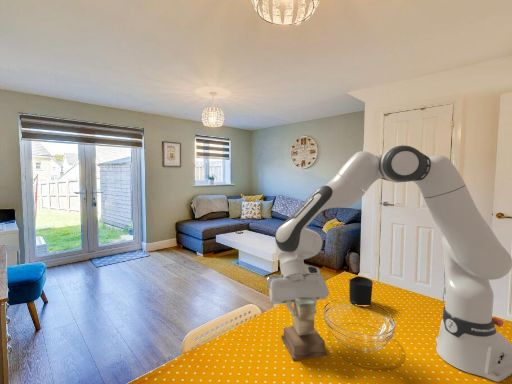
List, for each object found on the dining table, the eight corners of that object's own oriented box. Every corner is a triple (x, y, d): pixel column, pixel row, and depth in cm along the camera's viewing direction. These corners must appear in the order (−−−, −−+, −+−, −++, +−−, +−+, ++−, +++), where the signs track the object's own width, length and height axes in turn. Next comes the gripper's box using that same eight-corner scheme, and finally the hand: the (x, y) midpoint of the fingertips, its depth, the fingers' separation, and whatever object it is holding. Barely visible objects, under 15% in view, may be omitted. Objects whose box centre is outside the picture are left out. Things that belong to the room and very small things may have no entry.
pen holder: (346, 297, 120) (347, 275, 120) (367, 298, 120) (368, 276, 119) (351, 307, 111) (352, 284, 110) (374, 308, 110) (375, 285, 110)
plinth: (311, 333, 93) (311, 322, 92) (327, 355, 82) (327, 342, 81) (281, 337, 90) (281, 326, 90) (293, 360, 79) (293, 347, 79)
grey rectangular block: (307, 324, 89) (308, 295, 88) (314, 333, 84) (315, 302, 83) (292, 326, 88) (293, 296, 87) (298, 335, 83) (299, 304, 82)
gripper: (267, 272, 89) (275, 315, 80) (323, 267, 93) (336, 308, 85) (264, 279, 93) (271, 321, 85) (317, 275, 98) (329, 314, 89)
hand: (304, 314), depth 85 cm, fingers closed on grey rectangular block, 5 cm apart
